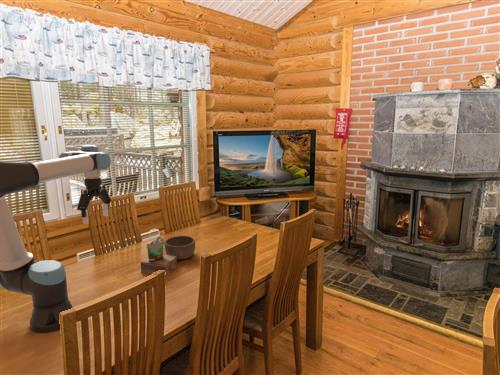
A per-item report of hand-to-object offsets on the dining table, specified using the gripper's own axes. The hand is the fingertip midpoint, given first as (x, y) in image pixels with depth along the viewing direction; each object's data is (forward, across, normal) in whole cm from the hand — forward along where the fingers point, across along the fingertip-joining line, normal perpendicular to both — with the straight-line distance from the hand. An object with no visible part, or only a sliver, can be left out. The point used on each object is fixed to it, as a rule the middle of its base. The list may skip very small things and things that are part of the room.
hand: (96, 219), depth 166 cm
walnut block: (+29, +13, -26) cm, 41 cm away
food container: (+23, +13, -26) cm, 37 cm away
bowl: (+29, +32, -28) cm, 51 cm away
